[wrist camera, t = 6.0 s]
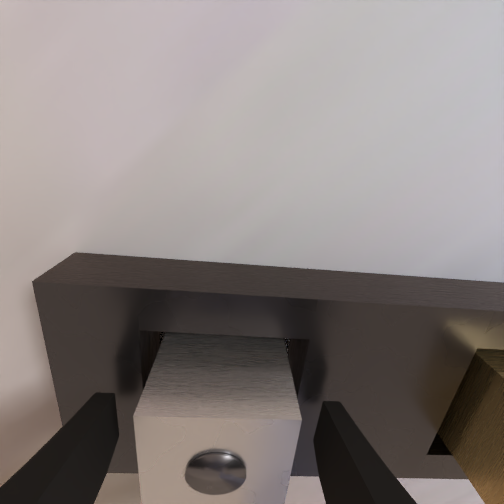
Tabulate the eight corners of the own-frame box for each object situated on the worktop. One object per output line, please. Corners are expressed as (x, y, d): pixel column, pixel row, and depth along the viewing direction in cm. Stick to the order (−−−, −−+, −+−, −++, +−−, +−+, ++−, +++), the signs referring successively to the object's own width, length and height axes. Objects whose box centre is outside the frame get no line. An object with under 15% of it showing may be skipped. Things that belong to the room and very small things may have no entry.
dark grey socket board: (541, 433, 16) (592, 481, 14) (99, 419, 14) (72, 471, 12) (636, 292, 12) (723, 325, 10) (75, 252, 11) (32, 281, 9)
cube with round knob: (267, 391, 14) (282, 520, 9) (175, 388, 14) (141, 520, 9) (278, 314, 12) (302, 423, 8) (174, 310, 12) (131, 419, 7)
